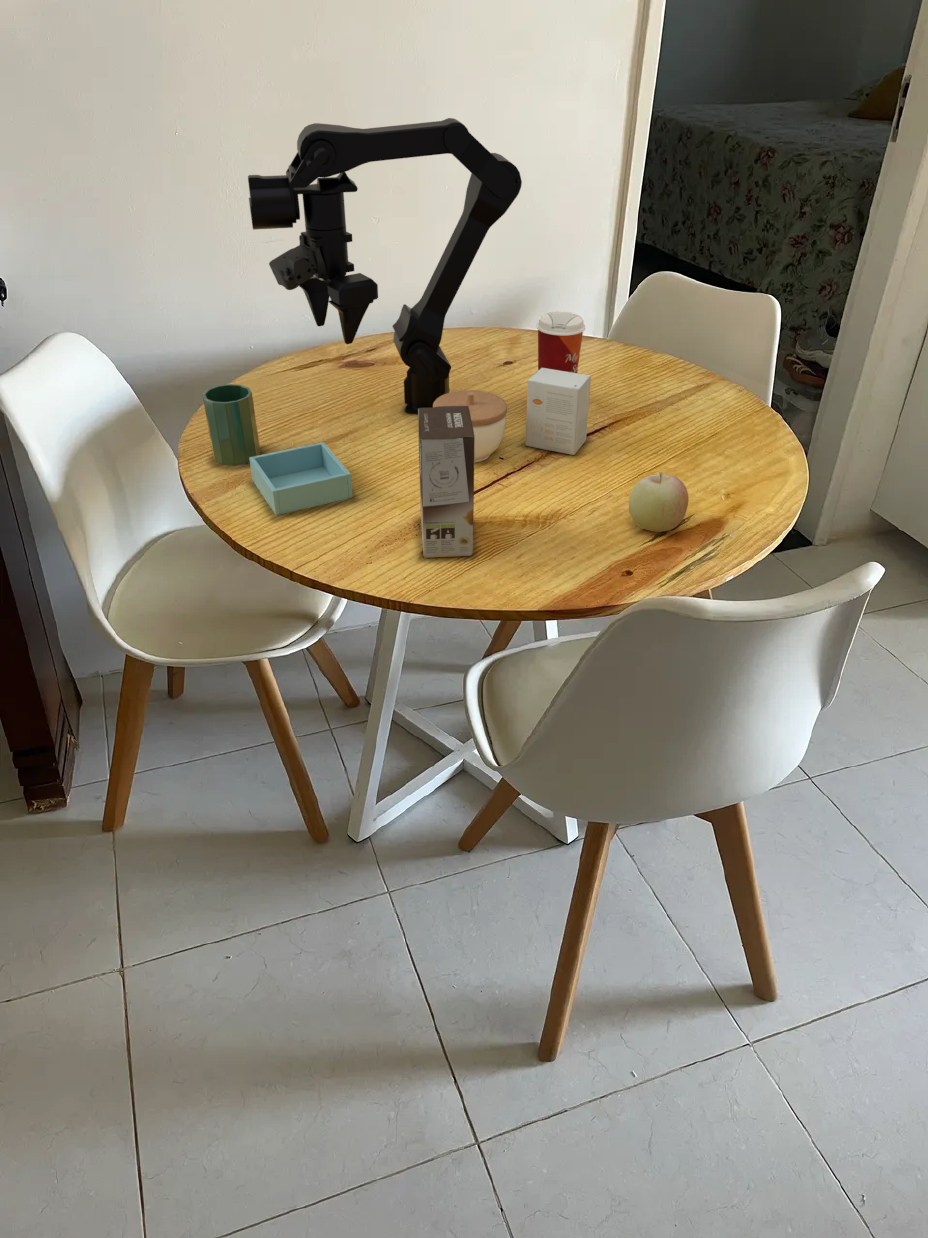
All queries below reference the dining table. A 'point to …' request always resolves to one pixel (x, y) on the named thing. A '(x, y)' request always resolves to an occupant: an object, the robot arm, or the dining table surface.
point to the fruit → (658, 502)
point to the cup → (231, 424)
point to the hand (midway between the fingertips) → (334, 334)
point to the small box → (557, 410)
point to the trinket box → (480, 418)
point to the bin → (300, 478)
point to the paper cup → (559, 341)
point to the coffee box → (446, 480)
